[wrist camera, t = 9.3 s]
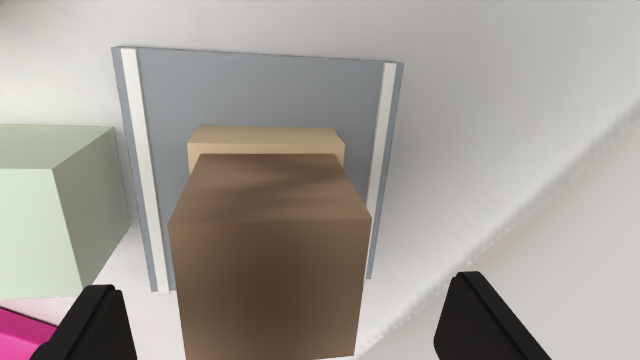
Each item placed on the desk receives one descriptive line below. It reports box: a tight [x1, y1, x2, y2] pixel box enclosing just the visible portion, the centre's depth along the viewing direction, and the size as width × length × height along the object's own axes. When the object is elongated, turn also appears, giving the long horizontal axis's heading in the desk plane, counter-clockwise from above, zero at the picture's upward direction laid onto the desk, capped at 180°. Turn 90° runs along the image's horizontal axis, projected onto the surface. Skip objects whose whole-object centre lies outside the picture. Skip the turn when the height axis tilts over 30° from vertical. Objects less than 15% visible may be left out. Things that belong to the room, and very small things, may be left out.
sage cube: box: [0, 124, 130, 300], centre depth 16 cm, size 6×6×6 cm
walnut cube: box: [167, 154, 372, 360], centre depth 14 cm, size 6×6×6 cm
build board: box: [111, 46, 404, 294], centre depth 19 cm, size 14×14×4 cm
